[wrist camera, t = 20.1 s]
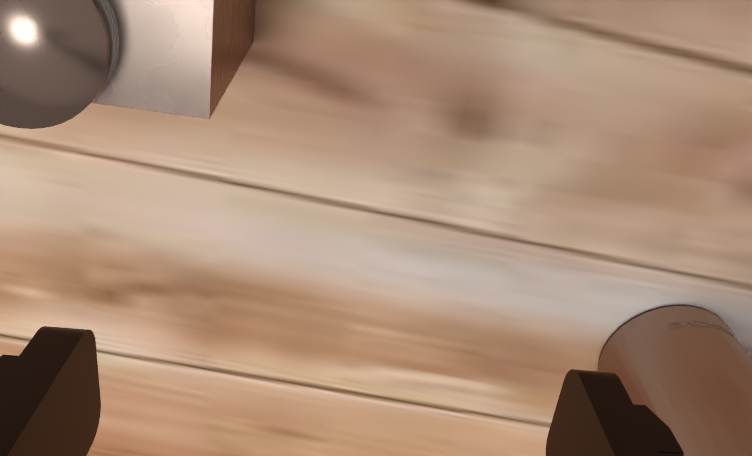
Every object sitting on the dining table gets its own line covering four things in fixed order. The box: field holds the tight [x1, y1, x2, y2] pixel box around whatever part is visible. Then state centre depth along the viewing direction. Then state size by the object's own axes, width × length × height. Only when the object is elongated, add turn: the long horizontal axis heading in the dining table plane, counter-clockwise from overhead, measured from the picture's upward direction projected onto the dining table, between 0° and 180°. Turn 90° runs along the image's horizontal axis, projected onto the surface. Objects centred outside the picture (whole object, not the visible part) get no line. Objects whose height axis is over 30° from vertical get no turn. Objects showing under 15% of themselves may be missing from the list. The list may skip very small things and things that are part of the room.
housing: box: [0, 0, 255, 129], centre depth 29 cm, size 6×13×13 cm, turn 81°
